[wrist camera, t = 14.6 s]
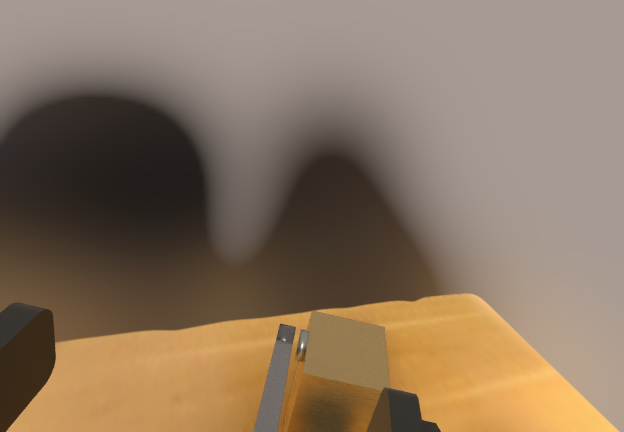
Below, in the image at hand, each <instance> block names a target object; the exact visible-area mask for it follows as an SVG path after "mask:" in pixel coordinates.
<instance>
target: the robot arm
mask: <svg viewBox="0 0 624 432" xmlns="http://www.w3.org/2000/svg"><path fill="white" fill-rule="evenodd" d="M55 359H56V354H55V340H54V325H53V314H52V312H51V311H50V310H48V309H44V308H39V307H35V306H30V305H26V304H22V303H13V304H11V305H9V306H8V307H7V308H6V309H5V310H3V311H2V312H1V313H0V432H6V431H7V429H8V428H9V427H10V426H11V425H12V423H13V422H14V421H15V420H16V419H17V417H18V416H19V415H20V414H21V413H22V411H23V410H24V409H25V408H26V407H27V405H28V404H29V403H30V402H31V401H32V399H33V398H34V397H35V396H36V395H37V393H38V392H39V391H40V390H41V389H42V387H43V386H44V385H45V384H46V382H47V381H48V379H49V377H50V375H51V373H52V371H53V368H54V365H55ZM367 432H441V431H440V429H439V428H438V426H437V424H436V423H432V422H428V421H423V420H422V419H421V412H420V406H419V400H418V397H417V395H416V394H412V393H408V392H404V391H399V390H395V389H390V388H386V387H385V388H384V389H383V390H382V392H381V395H380V397H379V400H378V403H377V405H376V408H375V410H374V413H373V415H372V418H371V421H370V423H369V426H368V428H367Z"/></svg>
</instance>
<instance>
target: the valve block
mask: <svg viewBox="0 0 624 432" xmlns="http://www.w3.org/2000/svg"><path fill="white" fill-rule="evenodd" d="M295 361H299V363H298V366H297V370H296V374H295V378H294V382H293V386H292V389H291V393H290V397H289V401H288V405H287V410H286V415H285V421H284V427H283V432H367V428H368V426H369V423H370V421H371V418H372V415H373V413H374V410H375V408H376V405H377V403H378V400H379V397H380V395H381V392H382V390H383V389H384V388H385V387H386V388H390V383H389V372H388V361H387V350H386V339H385V328H384V327H381V326H377V325H373V324H368V323H364V322H360V321H355V320H351V319H346V318H342V317H338V316H333V315H329V314H324V313H320V312H316V311H312V313H311V317H310V320H309V324H308V328H307V331H306V330H301V332H300V336H299V340H298V345H297V349H296V354H295Z"/></svg>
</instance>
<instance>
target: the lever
mask: <svg viewBox="0 0 624 432" xmlns="http://www.w3.org/2000/svg"><path fill="white" fill-rule="evenodd" d="M295 329H296V327H293V326H288V325H284V324H280V326H279V330H278V335H277V339H276V343H275V347H274V351H273V355H272V359H271V363H270V367H269V371H268V375H267V379H266V383H265V387H264V392H263V396H262V400H261V404H260V408H259V412H258V416H257V420H256V424H255V428H254V431H250V430H246V429H243V432H277V430H278V424H279V418H280V413H281V407H282V401H283V396H284V390H285V384H286V378H287V373H288V367H289V361H290V356H291V350H292V344H293V339H294V335H295Z"/></svg>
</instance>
